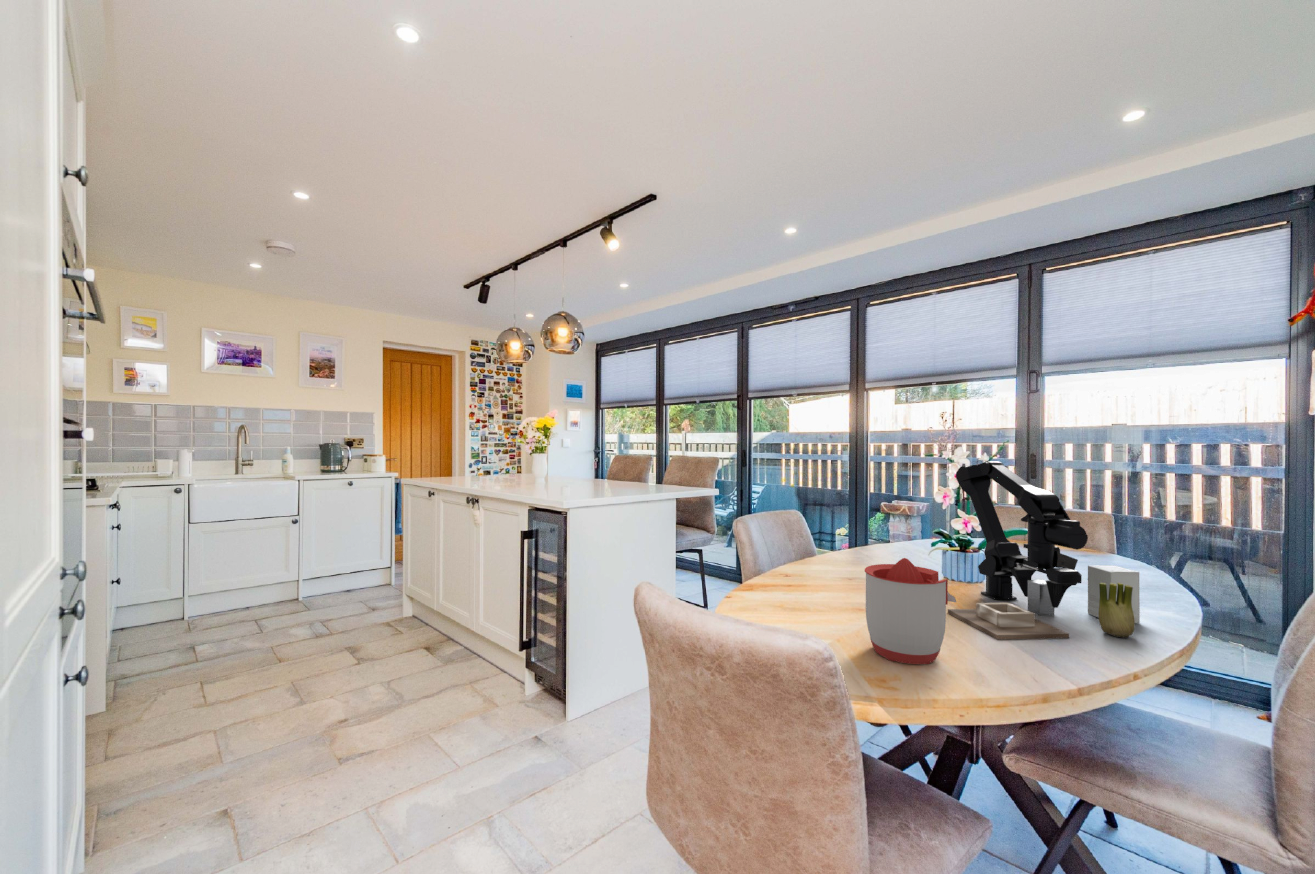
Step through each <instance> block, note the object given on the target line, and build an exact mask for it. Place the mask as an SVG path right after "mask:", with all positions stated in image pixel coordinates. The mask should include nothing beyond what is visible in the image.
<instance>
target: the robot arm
mask: <svg viewBox="0 0 1315 874" xmlns="http://www.w3.org/2000/svg"><path fill="white" fill-rule="evenodd" d="M997 477H998V478H997ZM955 478H956V479H955V480H956V481H957V483H958V485H959V487H960V489H961V490H962V491H964V493H966V494H967V496H969V497H970V500H971V503H972V506H973V508H974V512H975V515H976V516H977V519H978V521H979V525H980V528H981V531H982V533H983V535H984V538H985V541H986V545H985V548H984V551H983V553H984V556H985V557H984V558H985V559H983V560H982V561H981V563H979V564H978V566H977V568H978V571H979V574H981V575H984V576H985V591H980V594H982V595H984V596H986V597H988V598H991V599H993V600H995V601H997V600H998V601H999V600H1003V601H1004V600H1007V601H1008V600H1018V597H1017V596H1014V595H1013V577H1014V579H1015V581H1016V582H1017V584H1018V587H1019V588H1020V590H1021V592H1022V593H1023V596H1024V597H1026V598H1028V580H1032V576H1033V575H1034V574H1035V573H1036V572H1039V573H1041V574H1045V575H1046V578H1047V579H1048V580H1045V581H1046V583H1047V588H1048V592H1049V596H1050V600H1051V603H1052V606H1053V607H1054V609H1057V608H1059V606H1060V605H1061V602H1062V600H1063V597H1064V595H1065V593H1066V591H1067V590H1068V589H1069V588H1070V587H1072V586H1077V584H1082V581H1083V579H1082V574H1081V573H1080V572H1079V571H1078V570H1076V567H1077V564H1078V561H1079V560H1078V559H1077V558H1074V557H1072V556H1069V555H1067V554H1064V553H1061V548H1060V547H1063V548H1067V549H1073V550H1077V551H1078V550H1082V549H1083V548H1084V547H1085V546H1086V544H1087V543H1088V540H1089V539H1088V538H1089V536H1088V534H1087V532H1086V529H1085V528H1084V527H1082V526H1081V522H1080V521H1079V520H1071V518H1070V516H1069V514H1068V513H1067V512H1066V510H1065V508H1064V507H1063V505H1062V503H1061V502H1060V498H1059V496H1057V495H1056V494H1055V493H1053V492H1051V491H1048V489H1047V490H1046V489H1043V488H1041V487H1036V486H1034V485H1032V484H1030V483H1029V482H1027V480H1025V479H1023V478H1022V477H1020V476H1019V475H1017V474H1016V473H1015V472H1013V471H1012V470H1010V469H1009V468H1008V467H1006V466H1005V465H1004V462H1001V461H983V462H981V463H978V464H973V465H969V466H968V465H967V466H965V465H964V466H960V467H959V468H958V469H957V471H956V473H955ZM992 480H993V481H994V482H996V484H998V485H999V486H1001V488H1003V489H1005V490H1006V491H1007V492H1008V493H1010V494H1011V495H1013V496H1014V497H1015V498H1016V500H1017V503H1018V506H1019V507H1021V509H1022V510H1023V511H1024V512H1025V513H1026V515H1025V516H1022V518H1020V521H1021V522H1024V523H1027V543H1023V548H1024V549H1027V556H1026V555H1023V554H1022V553H1021V550H1020V547H1019V545H1018V543H1017V542H1011V541H1010V540H1009V539H1008V538H1007V537H1006V535H1005V532H1004V528H1003V525H1002V523H1001V520H1000V518H999V516H998V514H997V511H996V508H995V506H994V503H993V501H992V498H991V496H990V493H989V490H990V487H991V484H992V482H991V481H992ZM1059 546H1060V547H1059Z"/></svg>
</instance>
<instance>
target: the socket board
mask: <svg viewBox="0 0 1315 874" xmlns="http://www.w3.org/2000/svg"><path fill="white" fill-rule="evenodd" d="M975 604H976V606H975V607H976V608H948V609H947V614H948V613H949V615H951V616H952V617H954V618H957V619H958V620H960V621H962V622H963V621H964V623H965V622H966V624H967V625H969V624H970V625H969V626H972V627H973V628H975V629H977V630H979V631H981V632H982V633H984V632H985V633H984V634H986V635H988V636H990V637H992V638H994V639H996V640H1032V639H1034V640H1036V639H1037V640H1041V639H1043V640H1044V639H1070V633H1068V632H1066V631H1064V630H1062V629H1060V628H1057V627H1054V626H1053V625H1050V624H1048V623H1046V622H1043V621H1041V620H1039V619H1036V618H1035V617H1036V616H1035V615H1036V614H1034V613H1032V612H1030V611H1028V609H1025V608H1022V607H1020V606H1017V605H1016V604H1012V603H1011V602H976V603H975Z"/></svg>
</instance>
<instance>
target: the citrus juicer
mask: <svg viewBox="0 0 1315 874" xmlns="http://www.w3.org/2000/svg"><path fill="white" fill-rule="evenodd" d="M864 572H865V618H866V625H867V629H868V633H869V640H870V641H871V645H872V647H873V649H874V651H875V652H876V654H878V655H880V656H881V657H883V658H885V659H886V660H887V661H891V662H897V663H903V664H910V665H929V664H931V663H933V662H935V661H936V660H937V657H938V656H939V654H940V651H941V647H942V644H943V641H944V637H945V633H946V623H947V620H946V618H947V613H946V611H947V605H949V604H948V603H949V602H951V603H952V602H953V603H957V599H956V598H955V595H952V594H950V592H949V591H948V586H949V585H948V578H944V579H940V580H939V577H940V576H939V571H937V570H934V569H931V568H928V567H927V568H926V567H922V566H915V565H914V564H913V563H912V561H911V560H909V559H908V558H906V557H903V558H901V559H900V560H898V561H897V562H896V563H894V564H892V563H891V564H890V563H884V564H883V563H882V564H881V563H880V564H879V563H878V564H873V565H872V564H871V565H868V566H866V567H865V568H864Z"/></svg>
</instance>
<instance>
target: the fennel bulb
mask: <svg viewBox="0 0 1315 874" xmlns="http://www.w3.org/2000/svg"><path fill="white" fill-rule="evenodd" d="M1123 586H1124V585H1123V584H1121V583H1118V589H1117V586H1116V584H1113V583H1112V584H1110V587H1109V598H1108V600H1107V588H1106V584H1105V583H1099V588H1100V601H1099V618H1098V621H1099V626H1100V628H1101V630H1102V632H1103V633H1106V634H1108V635H1110V636H1112V637H1116V638H1123V639H1127V638H1129V637H1130V636H1132V635H1133V633H1134V632H1135V625H1136V623H1135V621H1134V614H1133V609H1132V604H1131V603H1132V602H1131V601H1132V590H1133V587H1131V586H1129V585H1125V587H1124V592H1123ZM1116 593H1117V599H1116ZM1116 600H1117V601H1116Z"/></svg>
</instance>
